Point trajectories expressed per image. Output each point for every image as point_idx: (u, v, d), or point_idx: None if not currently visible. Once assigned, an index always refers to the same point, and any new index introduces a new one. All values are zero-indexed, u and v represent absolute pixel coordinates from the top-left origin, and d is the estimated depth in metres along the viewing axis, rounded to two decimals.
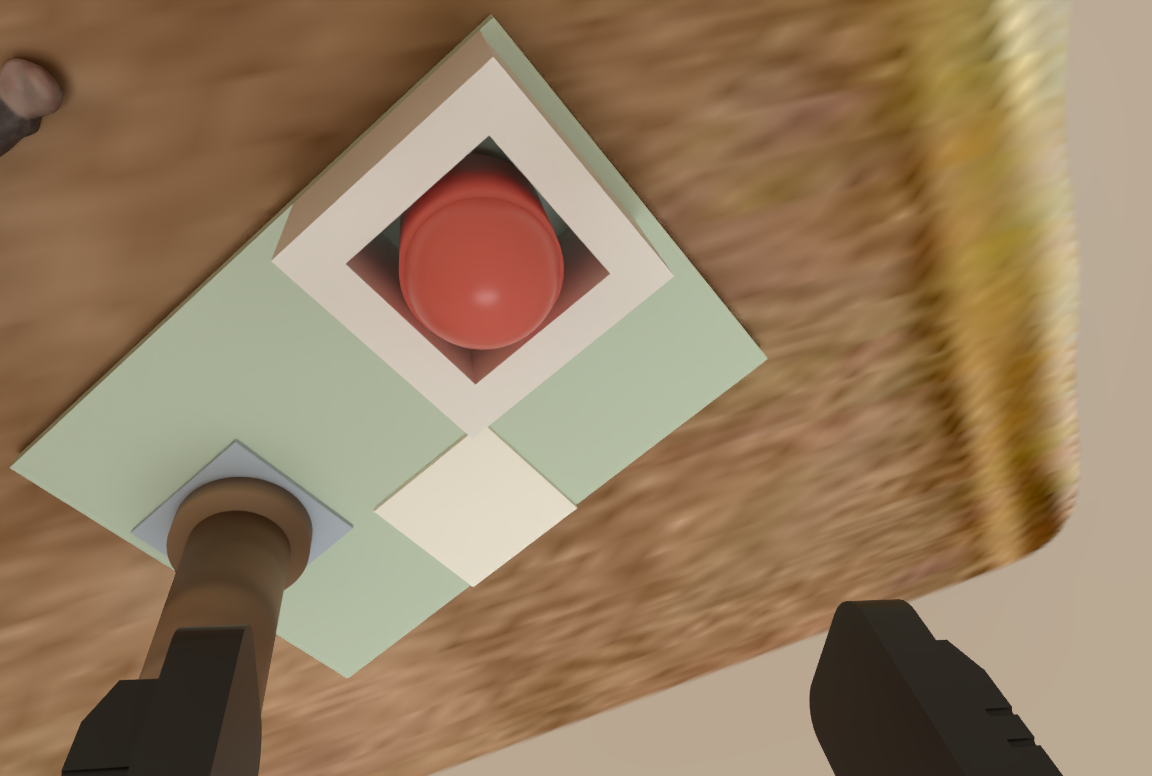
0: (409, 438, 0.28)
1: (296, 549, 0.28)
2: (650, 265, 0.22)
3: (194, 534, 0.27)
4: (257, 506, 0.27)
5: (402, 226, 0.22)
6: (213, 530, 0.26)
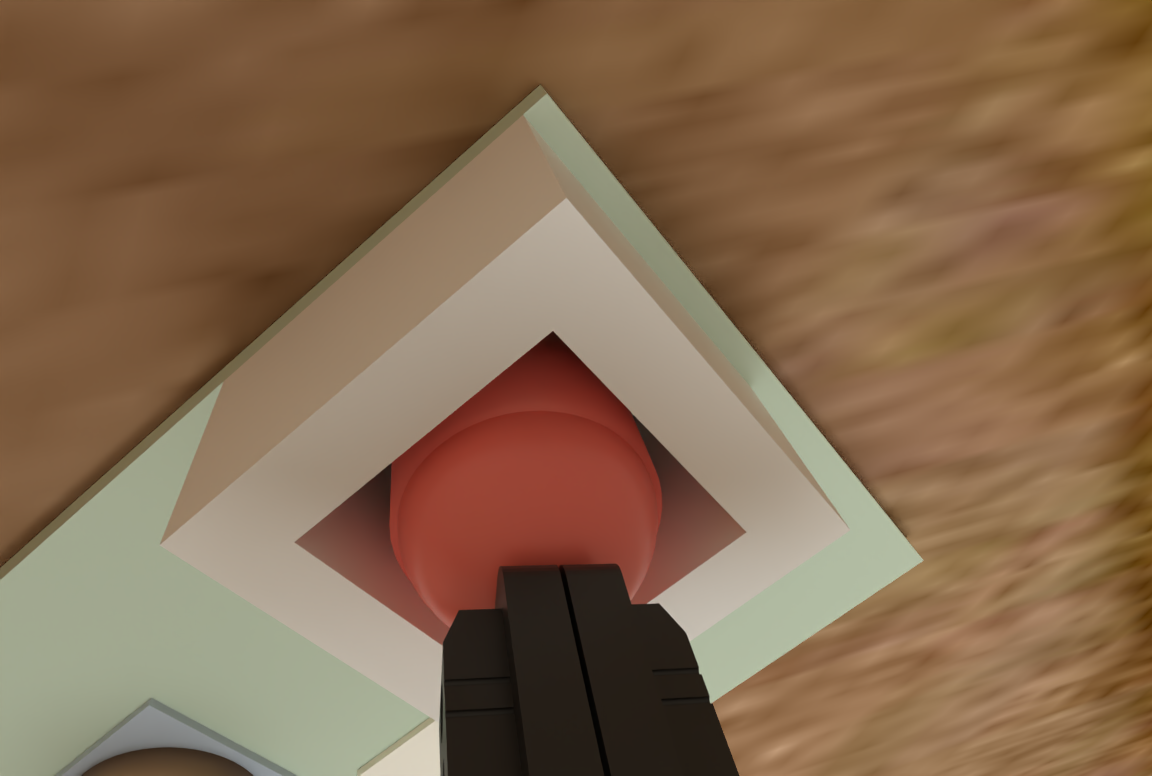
0: None
1: None
2: (813, 516, 0.13)
3: None
4: None
5: None
6: None
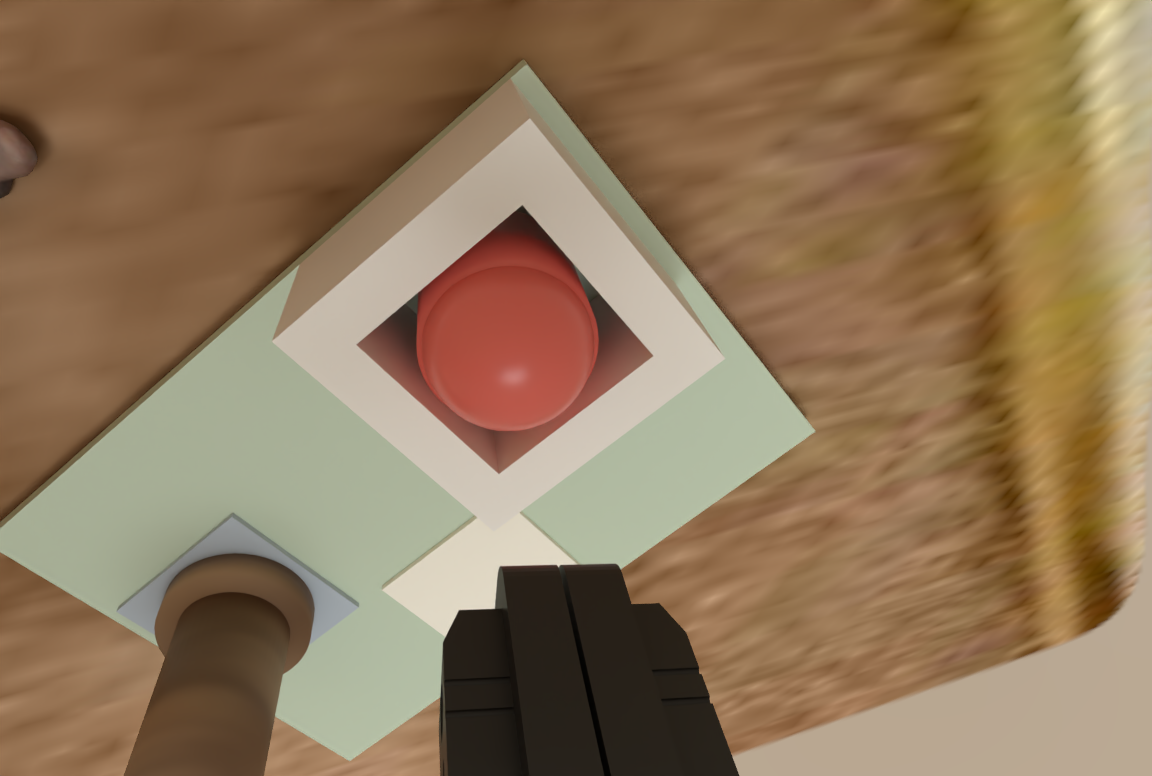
0: (422, 513, 0.26)
1: (296, 632, 0.26)
2: (698, 347, 0.19)
3: (184, 619, 0.24)
4: (254, 588, 0.25)
5: None
6: (205, 616, 0.24)
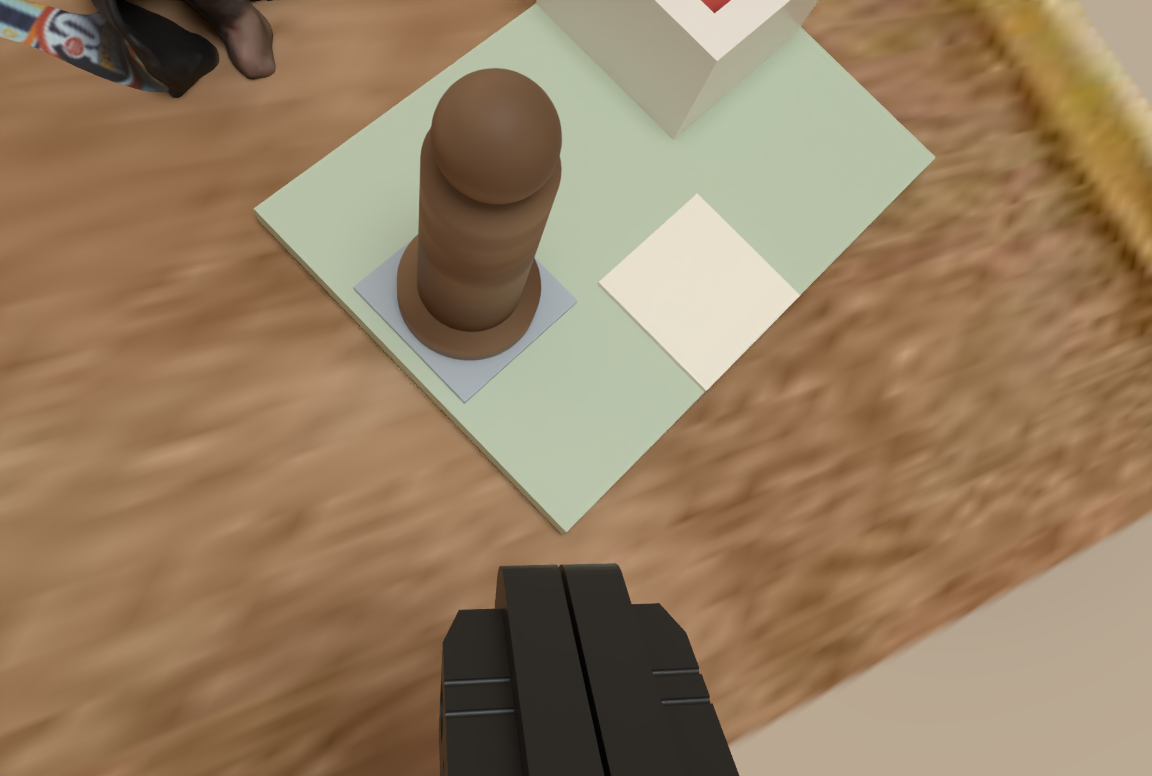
0: (629, 209, 0.29)
1: (527, 286, 0.27)
2: None
3: None
4: None
5: None
6: None
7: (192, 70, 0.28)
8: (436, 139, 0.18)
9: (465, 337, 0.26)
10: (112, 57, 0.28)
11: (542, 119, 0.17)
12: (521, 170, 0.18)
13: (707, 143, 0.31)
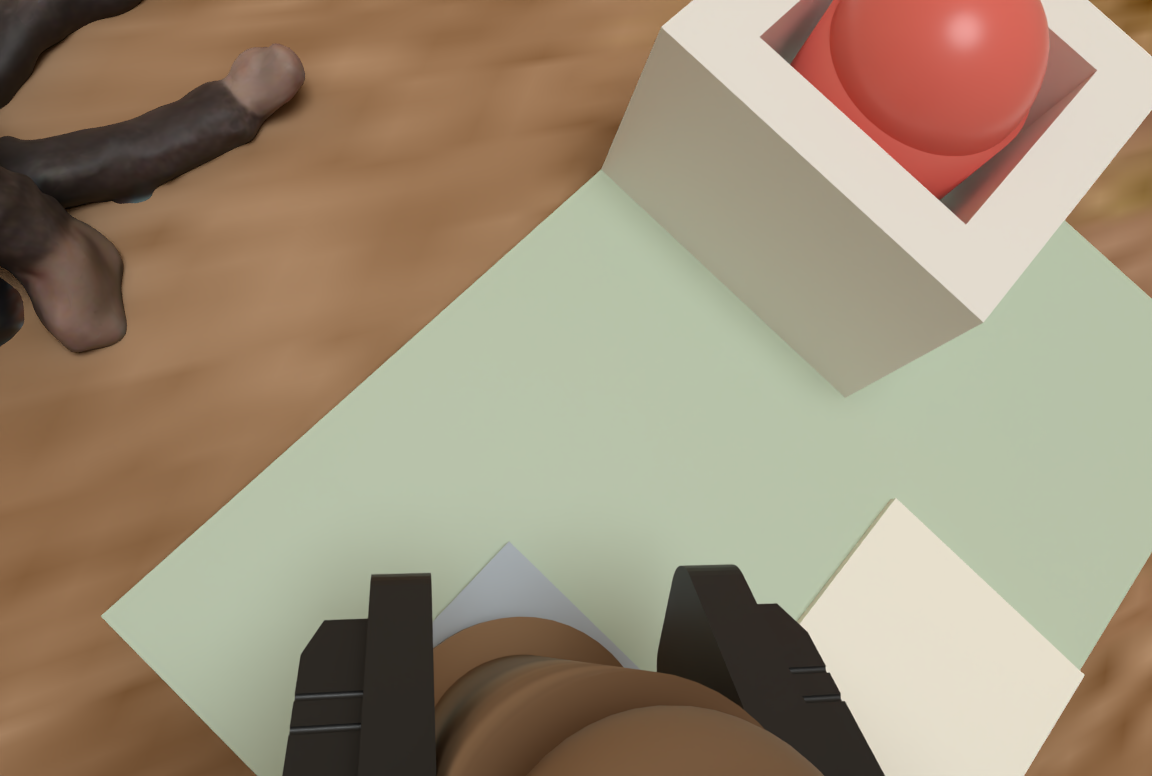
0: (784, 537, 0.17)
1: None
2: (1141, 63, 0.16)
3: (449, 691, 0.13)
4: (559, 644, 0.14)
5: None
6: (493, 664, 0.13)
7: None
8: None
9: None
10: None
11: None
12: None
13: (899, 398, 0.18)
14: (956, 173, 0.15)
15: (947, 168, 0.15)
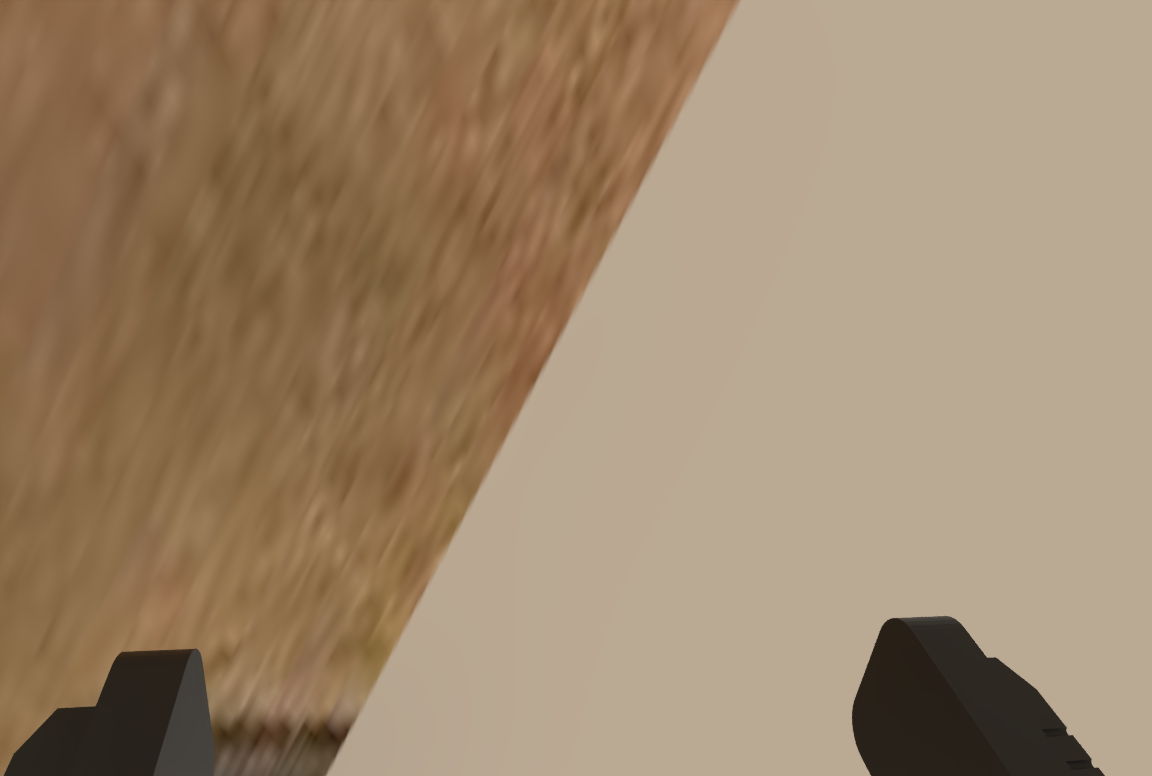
0: None
1: None
2: None
3: None
4: None
5: None
6: None
7: None
8: None
9: None
10: None
11: None
12: None
13: None
14: None
15: None
